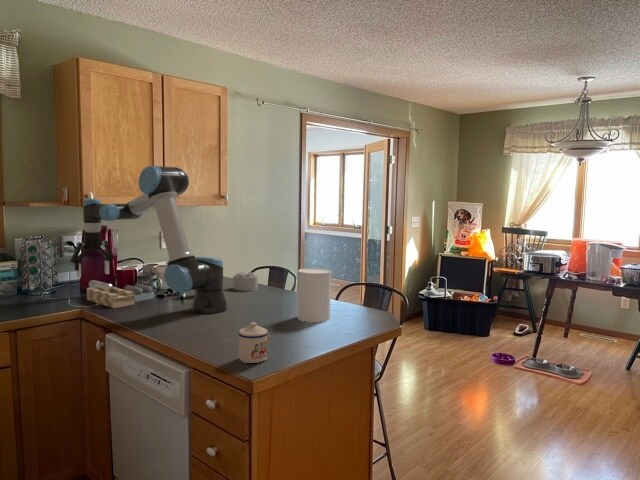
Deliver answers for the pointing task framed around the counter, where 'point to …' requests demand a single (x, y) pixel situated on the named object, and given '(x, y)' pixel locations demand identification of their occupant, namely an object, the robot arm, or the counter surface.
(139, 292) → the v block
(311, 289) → the canister
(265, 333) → the teacup with lid
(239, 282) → the lumpy-topped squat cylinder
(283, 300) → the counter surface
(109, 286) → the axle
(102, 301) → the beige egg carton
